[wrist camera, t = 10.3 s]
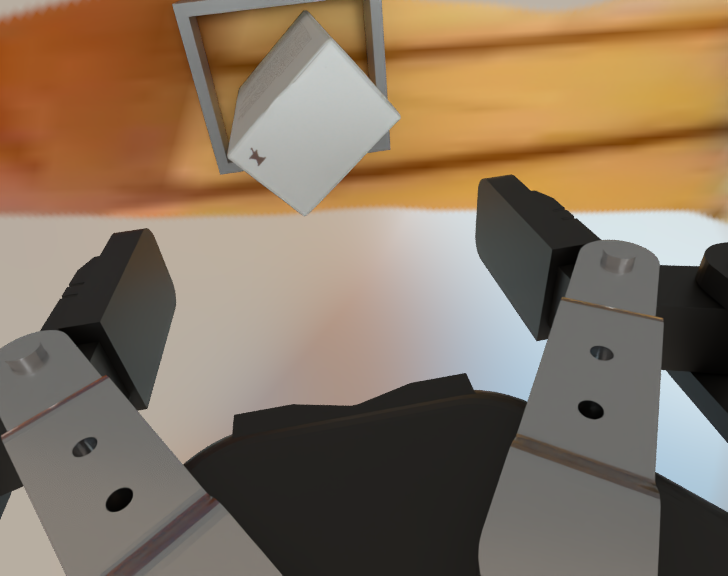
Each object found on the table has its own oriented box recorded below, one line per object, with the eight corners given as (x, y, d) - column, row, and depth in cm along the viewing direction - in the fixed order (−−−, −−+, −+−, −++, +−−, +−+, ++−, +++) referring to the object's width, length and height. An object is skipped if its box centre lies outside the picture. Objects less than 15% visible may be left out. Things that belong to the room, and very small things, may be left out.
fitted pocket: (371, -22, 26) (380, -21, 24) (382, 137, 31) (390, 149, 29) (180, 0, 25) (172, 4, 23) (223, 160, 30) (220, 174, 28)
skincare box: (292, 137, 30) (303, 222, 21) (237, 88, 28) (220, 157, 18) (359, 63, 28) (405, 118, 19) (306, 4, 26) (328, 32, 17)
